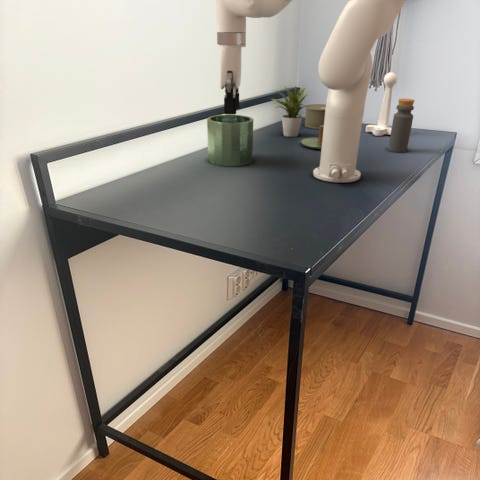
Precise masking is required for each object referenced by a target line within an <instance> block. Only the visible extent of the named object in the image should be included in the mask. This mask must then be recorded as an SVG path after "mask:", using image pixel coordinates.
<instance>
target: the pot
mask: <svg viewBox="0 0 480 480" xmlns="http://www.w3.org/2000/svg"><path fill="white" fill-rule="evenodd" d="M206 127H207V129H206V131H207V133H206V135H207V160H208V162H209V163H210V164H212V165H215V166H219V167H220V166H221V167H242V166H246V165H249V164H251V163H252V162H253V151H254V148H253V147H254V118H253V117H251V116H248V115H244V114H243V115H242V114H217V115H216V114H215V115H211V116H208V117H207V118H206Z"/></svg>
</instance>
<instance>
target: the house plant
mask: <svg viewBox="0 0 480 480" xmlns="http://www.w3.org/2000/svg"><path fill="white" fill-rule="evenodd" d="M284 89H285V90H286V92H287V93H286V94H287V96H285V94H283V93H282V92H281V91H278V90H273V92H274V91H275V92H276V93H277V92H278V93H277V94H278V95H280V96H281V97H282V98H283V99H284V101H283V100H280V99H275V98H270V100H271V101H274V102H277V103H274V104H275V105H276V104H277V105H278V106H275V108H274V110H276V109H278V108H282V110H284V111H285V112H286V114H283V115H281V123H282V132H283V133H282V134H283V137H288V138H289V137H290V138H295V137H298V136H299V133H300V129H301V124H302V120H303V116H302V115H300V114H298V113H299V112H300V111H301V110H303V109H304V108H306V105H304V103H302V102H303V101H304V100H305V98H306V97H307V96H308V95H309V93H306V92H307V87H301V88H299V90H298V91H297V85H295V87H294V90H293V92H292V91H290V89H288V88H287V87H286V86H284ZM305 93H306V94H305Z"/></svg>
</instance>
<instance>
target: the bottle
mask: <svg viewBox="0 0 480 480" xmlns="http://www.w3.org/2000/svg"><path fill="white" fill-rule="evenodd" d="M414 103H415V99H412V98H399V99H398V104H397V105H396V110H397V112H395V113H394V114H393V118H392V123H391V127H392V129H391V135H390V136H389V141H388V146H387V147H388V148H387V150H388V151H390V152H393V153H406V152H407V151H408V148H409V147H408V146H409V142H410V136H411V131H412V127H413V122H414V121H413V120H414V115H413V114H412V111H414V109H415V106H414Z"/></svg>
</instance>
